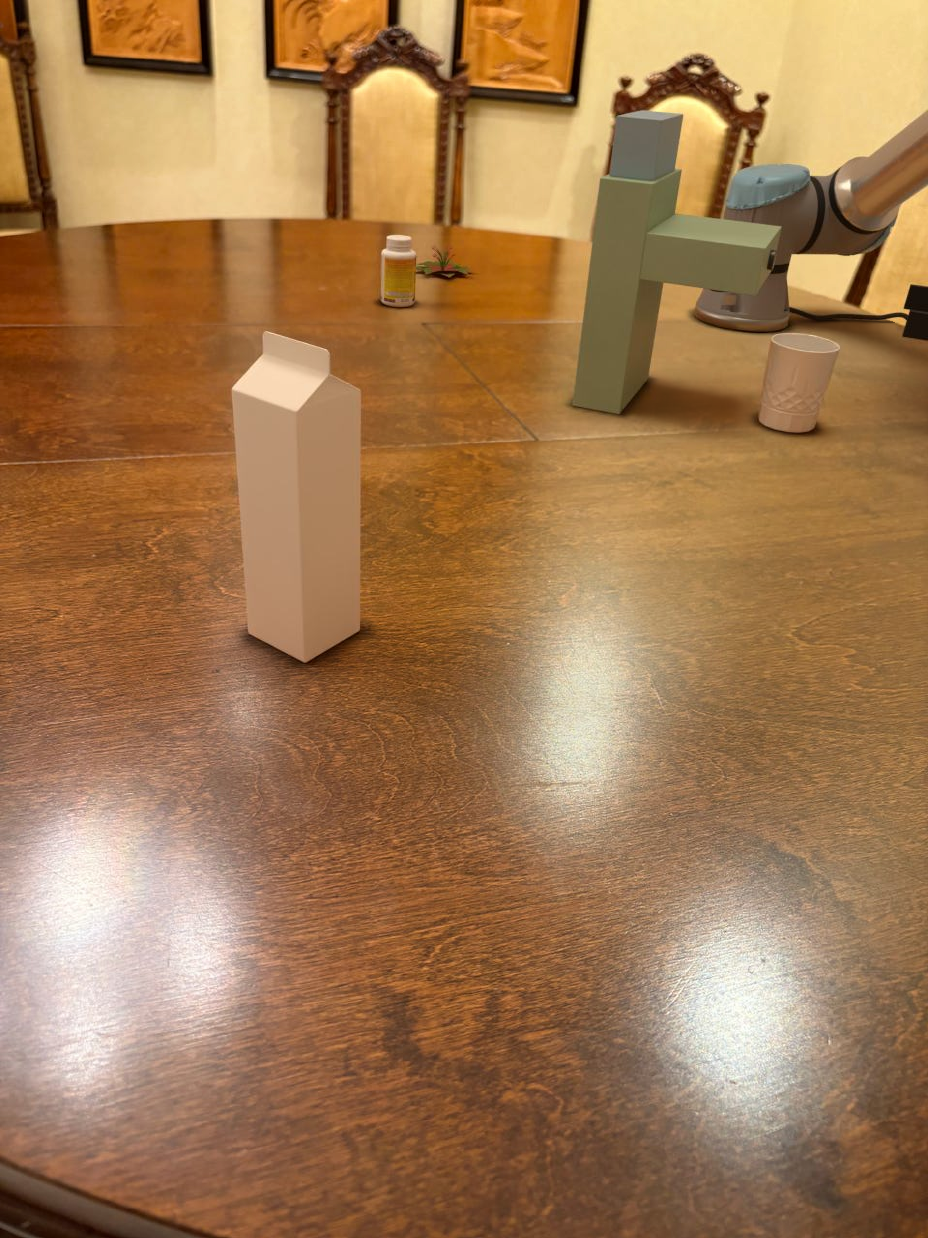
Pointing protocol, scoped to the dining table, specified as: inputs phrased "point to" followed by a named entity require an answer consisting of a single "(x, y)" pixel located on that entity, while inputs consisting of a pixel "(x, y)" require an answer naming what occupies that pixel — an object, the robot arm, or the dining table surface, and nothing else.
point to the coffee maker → (652, 258)
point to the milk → (299, 497)
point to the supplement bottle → (398, 272)
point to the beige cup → (796, 381)
